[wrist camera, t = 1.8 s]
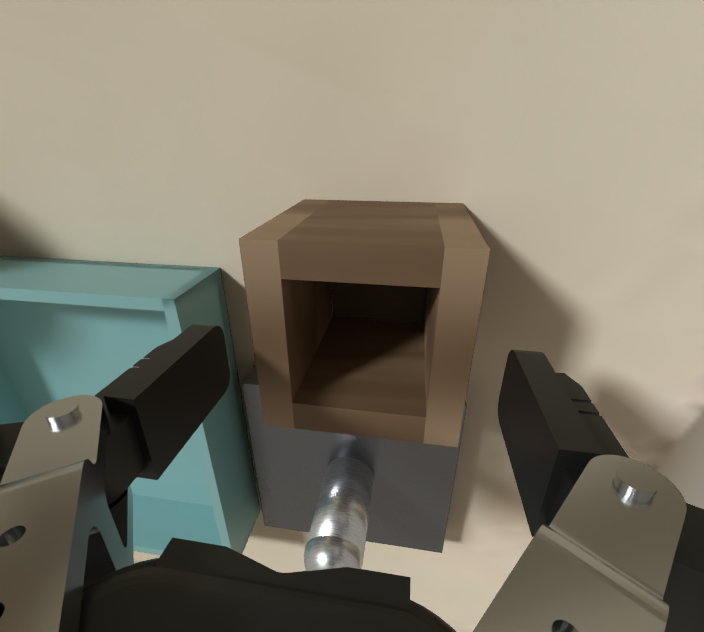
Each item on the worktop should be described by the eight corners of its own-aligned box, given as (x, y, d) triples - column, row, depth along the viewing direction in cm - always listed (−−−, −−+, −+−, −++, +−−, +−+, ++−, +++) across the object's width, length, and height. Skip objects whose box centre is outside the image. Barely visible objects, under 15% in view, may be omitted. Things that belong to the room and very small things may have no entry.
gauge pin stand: (254, 365, 19) (177, 475, 13) (462, 384, 17) (485, 518, 11) (273, 502, 23) (223, 631, 17) (440, 526, 22) (448, 677, 16)
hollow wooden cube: (304, 199, 15) (238, 238, 9) (463, 203, 14) (490, 249, 8) (311, 334, 17) (264, 424, 12) (445, 344, 16) (457, 447, 11)
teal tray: (-47, 253, 19) (-140, 278, 15) (220, 267, 17) (173, 299, 13) (64, 481, 26) (15, 529, 23) (259, 510, 24) (235, 568, 21)
